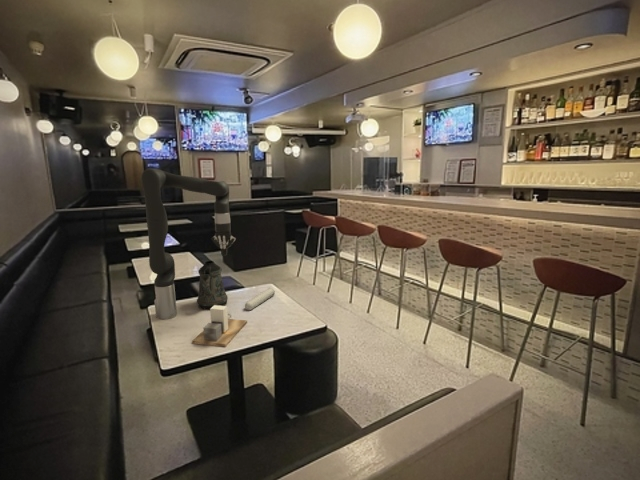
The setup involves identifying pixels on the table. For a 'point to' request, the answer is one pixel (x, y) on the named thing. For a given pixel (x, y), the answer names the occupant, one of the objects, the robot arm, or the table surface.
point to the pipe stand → (219, 333)
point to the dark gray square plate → (219, 323)
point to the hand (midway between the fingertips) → (224, 255)
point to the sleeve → (220, 315)
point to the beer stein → (211, 287)
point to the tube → (259, 299)
